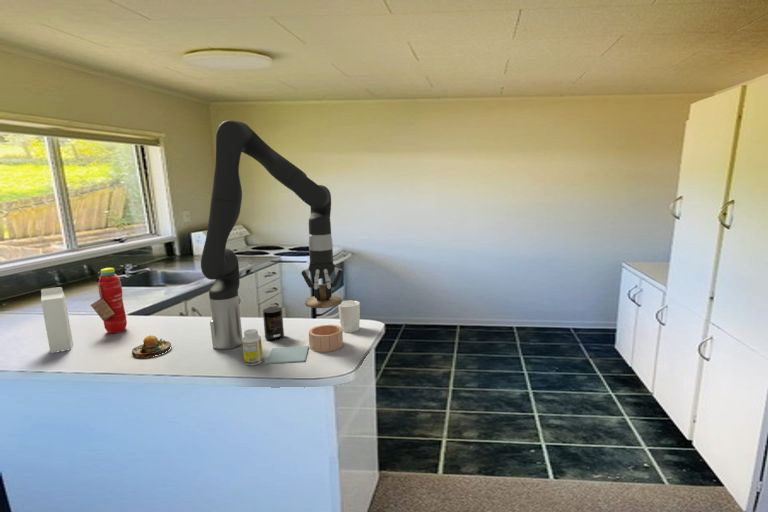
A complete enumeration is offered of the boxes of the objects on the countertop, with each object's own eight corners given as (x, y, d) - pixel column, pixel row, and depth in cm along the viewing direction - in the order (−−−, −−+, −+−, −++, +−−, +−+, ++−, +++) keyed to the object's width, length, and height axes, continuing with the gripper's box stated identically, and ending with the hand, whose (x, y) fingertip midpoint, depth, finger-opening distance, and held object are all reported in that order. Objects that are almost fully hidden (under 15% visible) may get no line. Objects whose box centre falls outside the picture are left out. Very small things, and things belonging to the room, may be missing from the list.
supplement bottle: (256, 357, 143) (253, 326, 141) (266, 361, 139) (263, 330, 137) (240, 363, 139) (237, 331, 137) (251, 367, 135) (248, 335, 133)
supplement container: (279, 333, 164) (277, 305, 162) (287, 338, 159) (285, 309, 157) (262, 337, 160) (259, 309, 159) (269, 342, 155) (266, 314, 153)
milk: (71, 349, 156) (61, 288, 151) (50, 353, 153) (39, 291, 149) (73, 344, 161) (63, 285, 157) (52, 348, 158) (42, 287, 154)
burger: (175, 344, 158) (173, 323, 157) (165, 357, 146) (163, 335, 145) (139, 347, 156) (136, 327, 155) (126, 361, 144) (123, 339, 143)
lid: (303, 309, 141) (302, 290, 140) (306, 298, 153) (305, 281, 152) (341, 307, 142) (340, 289, 141) (341, 297, 154) (341, 280, 153)
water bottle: (108, 338, 165) (98, 272, 161) (91, 337, 168) (81, 272, 163) (134, 327, 177) (125, 266, 172) (118, 326, 179) (109, 265, 174)
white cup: (357, 333, 161) (356, 306, 159) (336, 332, 162) (335, 306, 161) (363, 326, 168) (362, 300, 167) (343, 325, 170) (341, 300, 168)
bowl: (308, 353, 144) (307, 337, 143) (311, 340, 155) (310, 325, 154) (342, 351, 145) (341, 334, 144) (343, 338, 156) (342, 323, 155)
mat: (265, 364, 137) (265, 362, 137) (272, 349, 149) (272, 348, 149) (305, 361, 138) (305, 360, 138) (308, 346, 150) (308, 345, 150)
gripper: (297, 250, 140) (300, 303, 143) (342, 248, 141) (344, 301, 144) (300, 246, 147) (303, 297, 151) (342, 245, 148) (344, 295, 152)
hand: (323, 299), depth 147 cm, fingers closed on lid, 2 cm apart
